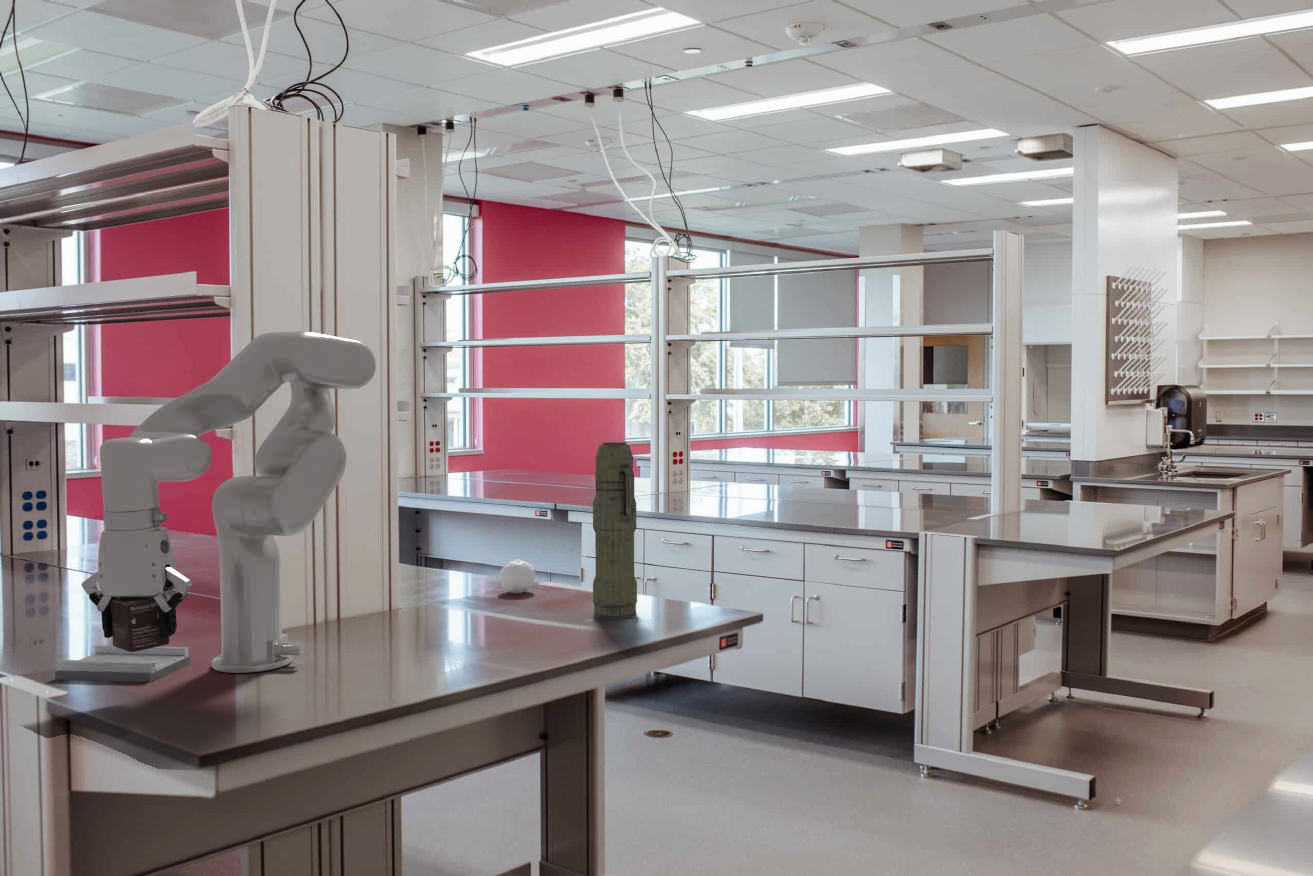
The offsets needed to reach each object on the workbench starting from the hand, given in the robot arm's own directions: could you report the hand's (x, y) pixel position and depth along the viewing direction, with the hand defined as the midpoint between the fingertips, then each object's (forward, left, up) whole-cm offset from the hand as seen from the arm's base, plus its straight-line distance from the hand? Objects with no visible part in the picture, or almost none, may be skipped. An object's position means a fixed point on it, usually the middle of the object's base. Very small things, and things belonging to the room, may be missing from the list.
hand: (140, 635), depth 165 cm
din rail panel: (+11, -14, -9) cm, 20 cm away
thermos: (-63, -65, -10) cm, 91 cm away
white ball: (-38, -86, -10) cm, 94 cm away
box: (0, 0, -2) cm, 2 cm away
